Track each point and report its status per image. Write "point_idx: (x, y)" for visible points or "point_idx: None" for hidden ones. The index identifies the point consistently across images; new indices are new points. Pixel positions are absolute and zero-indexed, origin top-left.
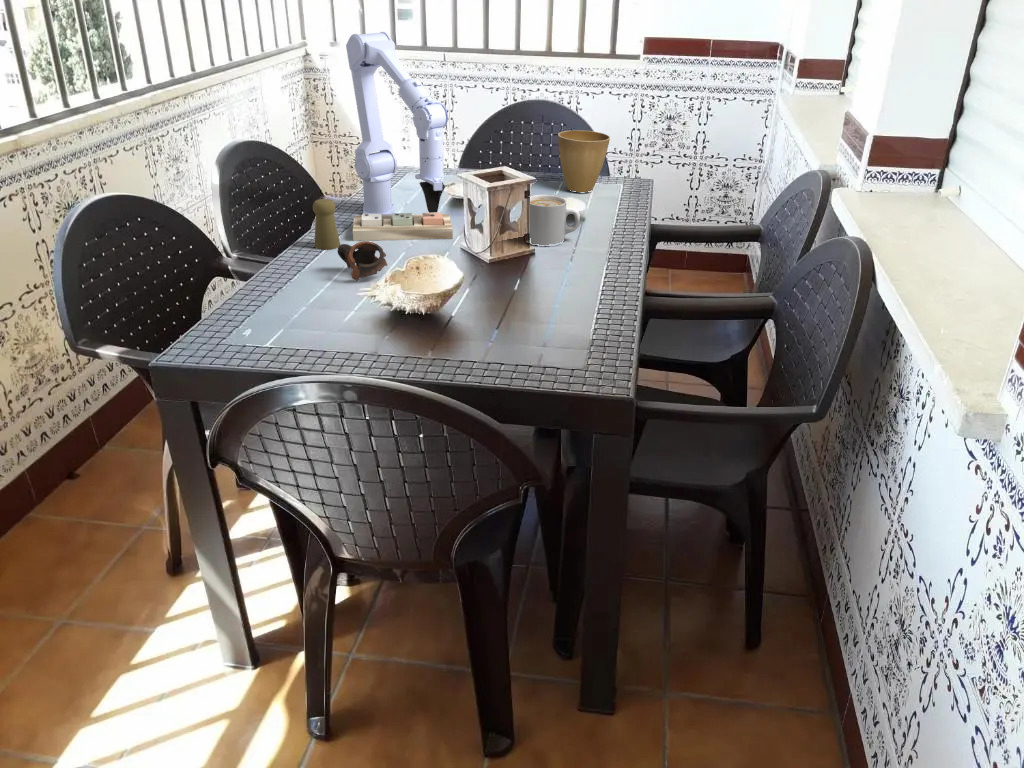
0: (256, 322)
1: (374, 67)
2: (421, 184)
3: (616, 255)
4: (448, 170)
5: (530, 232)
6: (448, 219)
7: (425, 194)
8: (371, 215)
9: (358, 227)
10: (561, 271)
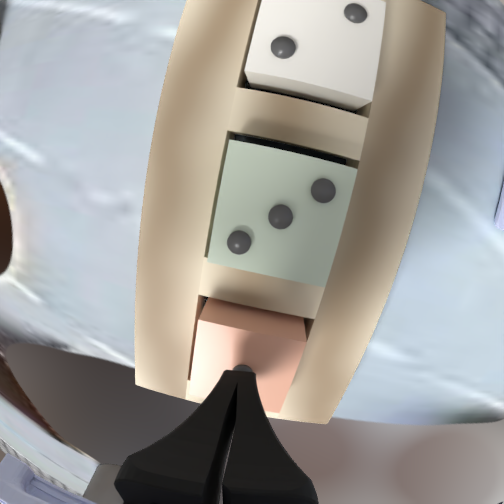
0: None
1: None
2: (184, 494)
3: (76, 494)
4: None
5: (98, 483)
6: None
7: (169, 438)
8: (347, 36)
9: None
10: (2, 420)
